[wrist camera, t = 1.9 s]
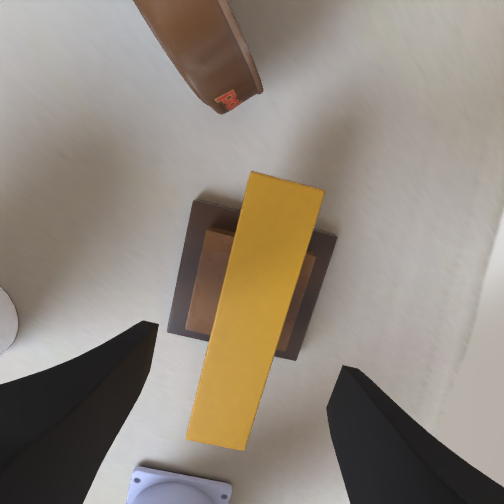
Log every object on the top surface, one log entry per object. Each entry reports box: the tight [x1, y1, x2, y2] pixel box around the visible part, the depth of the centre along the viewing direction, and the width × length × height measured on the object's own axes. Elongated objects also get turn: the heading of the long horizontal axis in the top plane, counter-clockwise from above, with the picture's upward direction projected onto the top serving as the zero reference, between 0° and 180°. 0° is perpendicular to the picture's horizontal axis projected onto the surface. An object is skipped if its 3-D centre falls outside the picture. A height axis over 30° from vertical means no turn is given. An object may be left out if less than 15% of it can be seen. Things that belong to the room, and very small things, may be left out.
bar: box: [186, 171, 325, 451], centre depth 16 cm, size 14×3×3 cm, turn 166°
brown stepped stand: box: [167, 199, 337, 361], centre depth 19 cm, size 9×9×3 cm
